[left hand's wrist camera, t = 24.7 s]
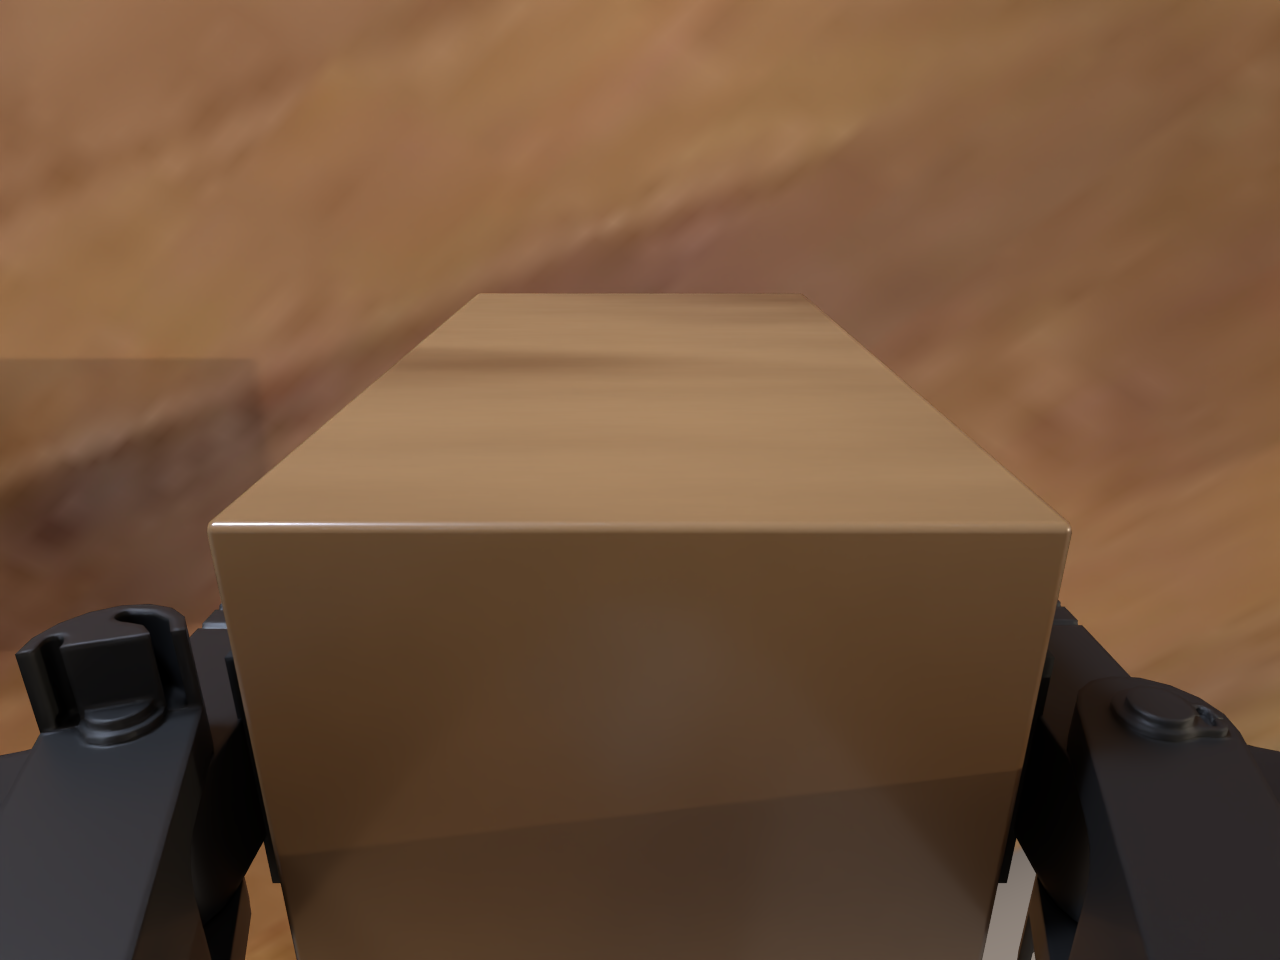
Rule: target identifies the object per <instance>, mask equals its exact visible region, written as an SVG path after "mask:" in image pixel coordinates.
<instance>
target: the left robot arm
mask: <svg viewBox="0 0 1280 960" xmlns="http://www.w3.org/2000/svg"><path fill="white" fill-rule="evenodd" d="M202 625H203V626H202V628H198V629H197V630H196V631H195V632H194V633H193V634H192V635H191V636H190V638H189V634H188V629H187V625H186V621H185V617H184V616H183V615H181V614H180V613H179V612H177V611H176V610H174V609H173V608H170V607H164V606H158V605H153V604H142V605H123V606H117V607H112V608H108V609H103V610H98V611H93V612H89V613H86V614H84V615H81V616H78V617H75V618H73V619H70V620H67V621H64V622H61V623H59V624H57V625H55V626H53V627H51V628H50V629H48V630H46V631H44V632H42V633H41V634H39V635H37V636H35V637H33V638H32V639H31V640H30V641H29V642H28V643H27V644H26V645H24V646H23V647H22V648H21V649H20V650H19V651H18V652H17V653H16V654H15V656H16V659H17V662H18V665H19V668H20V671H21V675H22V678H23V681H24V684H25V687H26V690H27V693H28V696H29V699H30V702H31V706H32V709H33V712H34V715H35V718H36V721H37V724H38V727H39V730H40V735H39V737H38V739H37V740H36V742H35V744H34V746H33V748H32V749H30V750H26V751H21V752H16V753H11V754H6V755H1V756H0V960H245V954H246V947H247V940H248V933H249V926H250V919H251V908H250V901H249V894H248V890H247V886H246V881H245V877H244V876H245V874H246V872H247V870H248V869H249V867H250V865H251V863H252V861H253V859H254V858H255V856H256V854H257V852H258V850H259V849H260V847H261V845H262V843H263V841H264V845H265V849H266V854H267V859H268V863H269V868H270V873H271V877H272V882H273V883H281V882H280V877H279V873H278V868H277V863H276V858H275V854H274V849H273V844H272V839H271V835H270V830H269V825H268V820H267V816H266V811H265V806H264V801H263V797H262V792H261V787H260V782H259V778H258V773H257V768H256V763H255V759H254V754H253V749H252V744H251V740H250V735H249V730H248V726H247V721H246V716H245V711H244V707H243V702H242V697H241V692H240V688H239V683H238V678H237V673H236V669H235V664H234V659H233V654H232V650H231V645H230V640H229V635H228V631H227V626H226V621H225V616H224V612H223V607H222V603H221V604H220V608H219V610H215V611H214V612H213V613H212V614H211V615H210V616H209V617H208V618H207V619H206V620H205V622H204V623H203V624H202ZM1016 838H1017V840H1018V842H1019V843H1020V845H1021V847H1022V849H1023V851H1024V852H1025V854H1026V856H1027V858H1028V860H1029V861H1030V863H1031V865H1032V867H1033V869H1034V870H1035V872H1036V877H1035V881H1034V886H1033V890H1032V894H1031V899H1030V903H1029V907H1028V912H1027V916H1026V920H1025V925H1024V929H1023V933H1022V938H1021V942H1020V946H1019V951H1018V958H1017V960H1031V957H1032V953H1033V952H1035V959H1036V960H1280V752H1279V751H1274V750H1269V749H1264V748H1258V747H1254V746H1250V745H1247V744H1246V742H1245V741H1244V739H1243V737H1242V735H1241V733H1240V732H1239V731H1238V729H1237V728H1236V727H1235V726H1234V725H1233V724H1232V723H1231V721H1230V720H1229V719H1228V718H1227V717H1226V716H1225V715H1224V714H1223V713H1222V712H1220V711H1219V710H1217V709H1216V708H1214V707H1213V706H1211V705H1210V704H1208V703H1207V702H1205V701H1203V700H1202V699H1200V698H1199V697H1196V696H1194V695H1192V694H1189V693H1187V692H1185V691H1182V690H1180V689H1178V688H1175V687H1173V686H1170V685H1167V684H1163V683H1159V682H1155V681H1151V680H1147V679H1142V678H1135V677H1130V676H1129V675H1128V673H1127V672H1126V671H1125V670H1124V669H1123V668H1122V667H1121V666H1120V665H1119V664H1118V663H1117V662H1116V661H1115V660H1114V659H1113V658H1112V656H1111V655H1110V654H1109V653H1108V652H1107V651H1106V650H1105V649H1104V648H1103V647H1102V646H1101V645H1100V644H1099V643H1098V642H1097V641H1096V640H1095V638H1094V637H1093V636H1092V635H1091V634H1090V633H1089V632H1088V631H1087V630H1086V629H1085V628H1084V627H1083V626H1082V625H1078V620H1077V619H1076V618H1075V617H1074V616H1073V615H1072V614H1071V613H1070V612H1069V611H1068V610H1067V609H1066V608H1065V607H1061V605H1060V601H1059V600H1058V601H1057V606H1056V610H1055V615H1054V620H1053V625H1052V629H1051V634H1050V639H1049V644H1048V648H1047V653H1046V658H1045V663H1044V667H1043V672H1042V677H1041V682H1040V686H1039V691H1038V696H1037V701H1036V705H1035V710H1034V715H1033V720H1032V724H1031V729H1030V734H1029V739H1028V743H1027V748H1026V753H1025V758H1024V763H1023V767H1022V772H1021V777H1020V782H1019V786H1018V791H1017V796H1016V801H1015V805H1014V810H1013V815H1012V820H1011V824H1010V829H1009V834H1008V839H1007V843H1006V848H1005V853H1004V858H1003V862H1002V867H1001V872H1000V877H999V881H998V883H1007V879H1008V874H1009V870H1010V865H1011V861H1012V856H1013V851H1014V847H1015V842H1016Z"/></svg>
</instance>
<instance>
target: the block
mask: <svg viewBox="0 0 1280 960" xmlns="http://www.w3.org/2000/svg"><path fill="white" fill-rule="evenodd" d="M1071 534H1072V531H1071V525H1070V523H1069V522H1068V521H1067V520H1066V519H1065V518H1064V517H1062V516H1061V515H1060V514H1059V513H1058V512H1057V511H1055V510H1054V509H1053V508H1052V507H1051V506H1049V505H1048V504H1047V503H1046V502H1045V501H1044V500H1042V499H1041V498H1040V497H1039V496H1038V495H1037V494H1035V493H1034V492H1033V491H1032V490H1031V489H1030V488H1028V487H1027V486H1026V485H1025V484H1024V483H1023V482H1021V481H1020V480H1019V479H1018V478H1017V477H1016V476H1014V475H1013V474H1012V473H1011V472H1010V471H1009V470H1007V469H1006V468H1005V467H1004V466H1003V465H1002V464H1000V463H999V462H998V461H997V460H996V459H995V458H993V457H992V456H991V455H990V454H989V453H988V452H986V451H985V450H984V449H983V448H982V447H981V446H979V445H978V444H977V443H976V442H975V441H973V440H972V439H971V438H970V437H969V436H968V435H966V434H965V433H964V432H963V431H962V430H961V429H959V428H958V427H957V426H956V425H955V424H954V423H952V422H951V421H950V420H949V419H948V418H947V417H945V416H944V415H943V414H942V413H941V412H940V411H938V410H937V409H936V408H935V407H934V406H933V405H931V404H930V403H929V402H928V401H927V400H926V399H924V398H923V397H922V396H921V395H920V394H919V393H917V392H916V391H915V390H914V389H913V388H912V387H910V386H909V385H908V384H907V383H906V382H905V381H903V380H902V379H901V378H900V377H899V376H897V375H896V374H895V373H894V372H893V371H892V370H890V369H889V368H888V367H887V366H886V365H885V364H883V363H882V362H881V361H880V360H879V359H878V358H876V357H875V356H874V355H873V354H872V353H871V352H869V351H868V350H867V349H866V348H865V347H864V346H862V345H861V344H860V343H859V342H858V341H857V340H855V339H854V338H853V337H852V336H851V335H850V334H848V333H847V332H846V331H845V330H844V329H843V328H841V327H840V326H839V325H838V324H837V323H836V322H834V321H833V320H832V319H831V318H830V317H829V316H827V315H826V314H825V313H824V312H823V311H821V310H820V309H819V308H818V307H817V306H816V305H814V304H813V303H812V302H811V301H810V300H809V299H807V298H806V297H805V296H804V295H802V294H477V295H476V296H475V297H474V298H472V299H471V300H470V301H469V302H468V303H467V304H465V305H464V306H463V307H462V308H461V309H459V310H458V311H457V312H456V313H455V314H454V315H452V316H451V317H450V318H449V319H448V320H447V321H445V322H444V323H443V324H442V325H441V326H439V327H438V328H437V329H436V330H435V331H434V332H432V333H431V334H430V335H429V336H428V337H427V338H425V339H424V340H423V341H422V342H421V343H419V344H418V345H417V346H416V347H415V348H414V349H412V350H411V351H410V352H409V353H408V354H407V355H405V356H404V357H403V358H402V359H401V360H400V361H398V362H397V363H396V364H395V365H394V366H392V367H391V368H390V369H389V370H388V371H387V372H385V373H384V374H383V375H382V376H381V377H380V378H378V379H377V380H376V381H375V382H374V383H372V384H371V385H370V386H369V387H368V388H367V389H365V390H364V391H363V392H362V393H361V394H360V395H358V396H357V397H356V398H355V399H354V400H352V401H351V402H350V403H349V404H348V405H347V406H345V407H344V408H343V409H342V410H341V411H340V412H338V413H337V414H336V415H335V416H334V417H332V418H331V419H330V420H329V421H328V422H327V423H325V424H324V425H323V426H322V427H321V428H320V429H318V430H317V431H316V432H315V433H314V434H312V435H311V436H310V437H309V438H308V439H307V440H305V441H304V442H303V443H302V444H301V445H300V446H298V447H297V448H296V449H295V450H294V451H292V452H291V453H290V454H289V455H288V456H287V457H285V458H284V459H283V460H282V461H281V462H280V463H278V464H277V465H276V466H275V467H274V468H273V469H271V470H270V471H269V472H268V473H267V474H265V475H264V476H263V477H262V478H261V479H260V480H258V481H257V482H256V483H255V484H254V485H253V486H251V487H250V488H249V489H248V490H247V491H245V492H244V493H243V494H242V495H241V496H240V497H238V498H237V499H236V500H235V501H234V502H233V503H231V504H230V505H229V506H228V507H227V508H225V509H224V510H223V511H222V512H221V513H220V514H218V515H217V516H216V517H215V518H214V519H213V520H211V521H210V522H209V524H208V528H207V536H208V540H209V545H210V550H211V555H212V559H213V564H214V569H215V574H216V578H217V583H218V588H219V593H220V597H221V602H222V607H223V612H224V616H225V621H226V626H227V631H228V635H229V640H230V645H231V650H232V654H233V659H234V664H235V669H236V673H237V678H238V683H239V688H240V692H241V697H242V702H243V707H244V711H245V716H246V721H247V726H248V730H249V735H250V740H251V744H252V749H253V754H254V759H255V763H256V768H257V773H258V778H259V782H260V787H261V792H262V797H263V801H264V806H265V811H266V816H267V820H268V825H269V830H270V835H271V839H272V844H273V849H274V854H275V858H276V863H277V868H278V873H279V877H280V882H281V887H282V892H283V896H284V901H285V906H286V911H287V915H288V920H289V925H290V930H291V934H292V939H293V944H294V948H295V953H296V958H297V960H982V957H983V952H984V948H985V943H986V938H987V934H988V929H989V924H990V919H991V915H992V909H993V905H994V900H995V895H996V891H997V886H998V881H999V877H1000V872H1001V867H1002V862H1003V858H1004V853H1005V848H1006V843H1007V839H1008V834H1009V829H1010V824H1011V820H1012V815H1013V810H1014V805H1015V801H1016V796H1017V791H1018V786H1019V782H1020V777H1021V772H1022V767H1023V763H1024V758H1025V753H1026V748H1027V743H1028V739H1029V734H1030V729H1031V724H1032V720H1033V715H1034V710H1035V705H1036V701H1037V696H1038V691H1039V686H1040V682H1041V677H1042V672H1043V667H1044V663H1045V658H1046V653H1047V648H1048V644H1049V639H1050V634H1051V629H1052V625H1053V620H1054V615H1055V610H1056V606H1057V601H1058V596H1059V591H1060V587H1061V582H1062V577H1063V572H1064V568H1065V563H1066V558H1067V553H1068V549H1069V544H1070V539H1071Z"/></svg>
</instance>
